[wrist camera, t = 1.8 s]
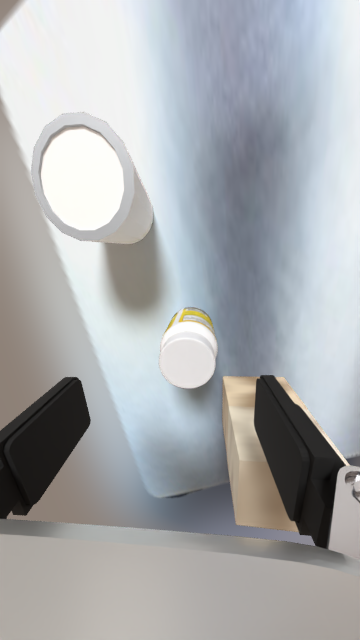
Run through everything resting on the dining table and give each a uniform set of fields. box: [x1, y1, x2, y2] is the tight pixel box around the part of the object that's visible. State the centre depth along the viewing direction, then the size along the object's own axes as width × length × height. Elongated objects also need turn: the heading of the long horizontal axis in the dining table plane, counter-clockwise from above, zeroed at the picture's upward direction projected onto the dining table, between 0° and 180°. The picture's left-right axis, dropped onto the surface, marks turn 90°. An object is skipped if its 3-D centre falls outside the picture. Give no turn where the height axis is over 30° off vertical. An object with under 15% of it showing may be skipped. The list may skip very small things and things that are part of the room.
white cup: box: [31, 112, 153, 244], centre depth 14 cm, size 7×7×7 cm
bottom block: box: [222, 376, 307, 451], centre depth 20 cm, size 7×7×5 cm
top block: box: [227, 406, 350, 532], centre depth 15 cm, size 7×7×5 cm
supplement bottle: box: [159, 307, 218, 389], centre depth 16 cm, size 5×5×8 cm
